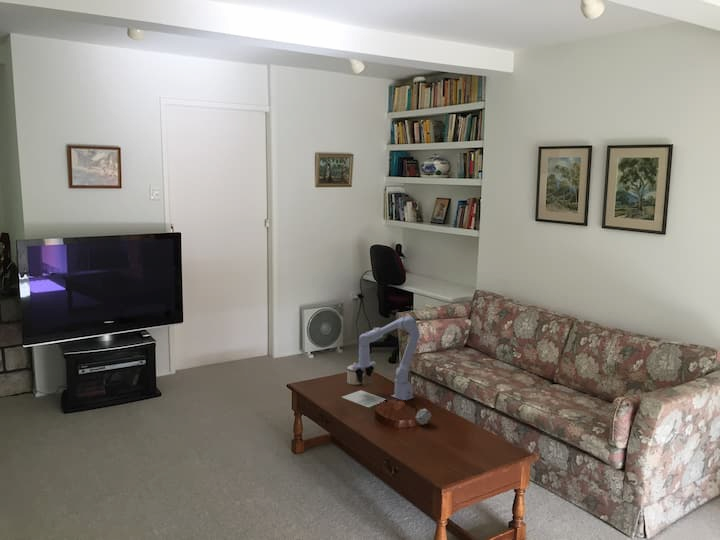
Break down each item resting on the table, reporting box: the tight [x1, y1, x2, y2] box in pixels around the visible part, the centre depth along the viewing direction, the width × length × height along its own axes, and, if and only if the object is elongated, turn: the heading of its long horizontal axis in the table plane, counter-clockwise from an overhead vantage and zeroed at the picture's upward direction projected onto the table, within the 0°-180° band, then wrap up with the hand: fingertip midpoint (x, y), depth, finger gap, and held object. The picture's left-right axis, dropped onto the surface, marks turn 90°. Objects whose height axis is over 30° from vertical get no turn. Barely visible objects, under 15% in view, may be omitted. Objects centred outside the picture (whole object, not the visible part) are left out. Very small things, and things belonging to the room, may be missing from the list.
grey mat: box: [341, 389, 386, 408], centre depth 328 cm, size 20×15×1 cm
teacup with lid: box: [346, 362, 364, 386], centre depth 353 cm, size 12×9×12 cm
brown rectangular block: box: [356, 373, 373, 387], centre depth 332 cm, size 8×5×4 cm, turn 41°
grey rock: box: [412, 406, 434, 427], centre depth 296 cm, size 9×8×10 cm
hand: (364, 380), depth 332 cm, fingers closed on brown rectangular block, 5 cm apart
